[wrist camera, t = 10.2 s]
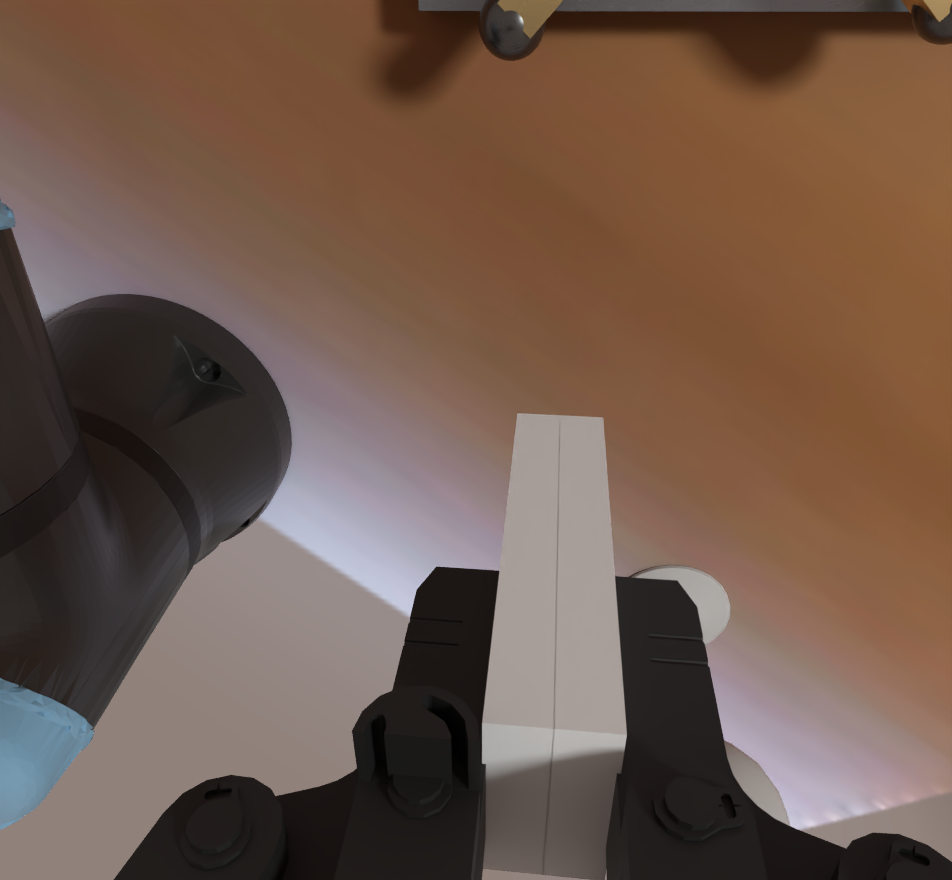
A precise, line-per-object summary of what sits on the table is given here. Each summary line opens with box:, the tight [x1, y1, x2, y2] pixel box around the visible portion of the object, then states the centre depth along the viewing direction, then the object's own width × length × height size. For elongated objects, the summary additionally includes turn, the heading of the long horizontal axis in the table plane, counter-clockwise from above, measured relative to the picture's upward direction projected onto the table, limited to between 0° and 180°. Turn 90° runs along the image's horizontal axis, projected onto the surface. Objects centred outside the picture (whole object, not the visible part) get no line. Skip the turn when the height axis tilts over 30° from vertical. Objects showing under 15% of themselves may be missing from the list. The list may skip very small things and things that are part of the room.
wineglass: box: [631, 565, 790, 826], centre depth 39 cm, size 8×8×21 cm
